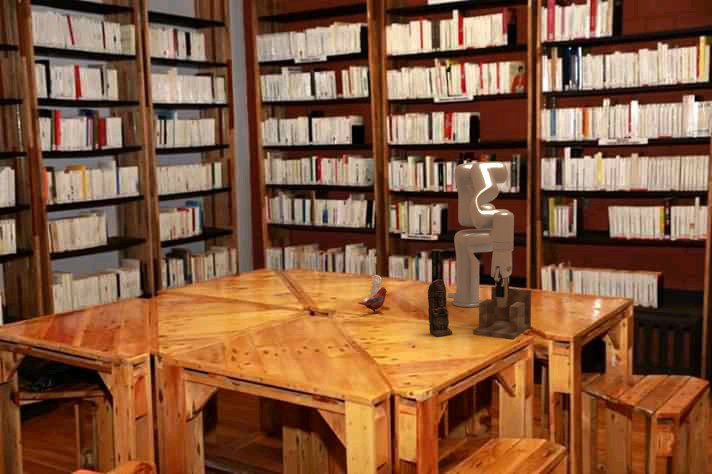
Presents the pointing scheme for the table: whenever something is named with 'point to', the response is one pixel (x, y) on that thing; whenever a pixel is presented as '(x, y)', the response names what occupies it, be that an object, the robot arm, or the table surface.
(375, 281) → the white creature statuette
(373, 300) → the decorative bird figurine
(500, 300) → the handle
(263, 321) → the table surface
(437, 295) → the statue
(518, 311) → the wooden stand
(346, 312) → the table surface
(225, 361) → the table surface
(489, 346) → the table surface
